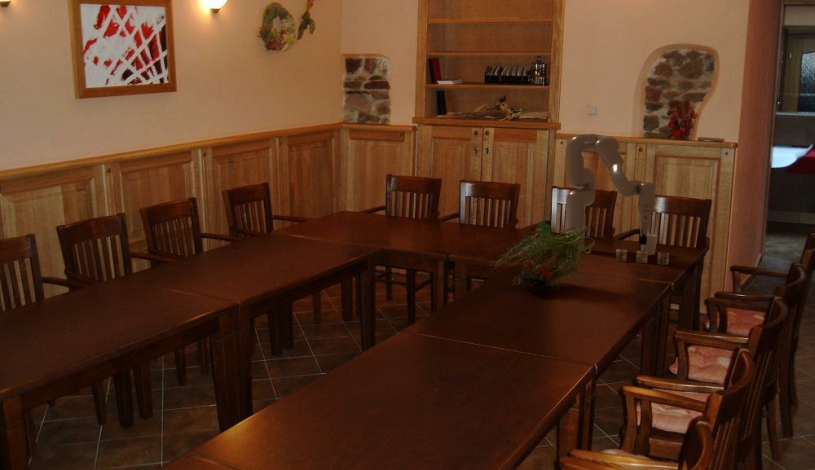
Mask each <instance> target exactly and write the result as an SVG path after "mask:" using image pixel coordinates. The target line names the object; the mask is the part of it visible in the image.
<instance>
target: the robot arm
mask: <svg viewBox="0 0 815 470" xmlns="http://www.w3.org/2000/svg"><path fill="white" fill-rule="evenodd" d="M619 149H620V144H619V141H618V140H617V139H616V138H615V137H614V136H613V137H612V136H606V135H602V134H595V133H588V134H587V133H583V134H578V135H574V136H573V137H572V138H570V139H569V140H568V142H567V143H566V146H565V153H566V154H565V155H566V165H567V166H566V168H567V170H566V171H567V181H568V184H569V185H570V186H571V187H573V188H577V189H573V190H571V191H569V192H568V194H567V195H566V199H565V202H566V214H567V215H566V229H565V231H566V230H567V229H569V228H571V227H573V228H576V229H577V231H578V234H579V233H580V231H582V230H584V229H585V228H584V227H586V218H587V215H586V210H585V207H589V206H591V205H592V204H594V203H595V200H596V183H595V175H594V173H593V171H592V170H591V168H588V167H585V160H584V156H583V152H588V151H589V152H591V151H593V152H596V153H597V155H598V156H599V157H600V159H601V160H602V161H603V163H604V164H605V166H606V168H608V170H609V175H610V179H611V182H612V184H613V186H614V187H615V189H616V190H617V192H618V193H619V194H620V195H621V196H623V197H625V198H627V197H633V196H638V199H637V201H638V202H637V211H639V231H640V237H639V238H640V239H639V245H640V246H641V245H646V244H647V233H648V232H651V227H652V212H654V211H655V198H656V197H655V196H656V184H655V183H654V182H651V181H642V180H638V179H633V180H632V179H631V180H629V179H628V178H627V177H626V175H625V173H624V170H623V165H624V163H625V160H624V158H623V157H622V155H621V154H620V153H619ZM581 228H582V229H581ZM578 229H579V230H578ZM568 231H573V233H574V234H575V231H574V229H570V230H568ZM568 231H567V232H565V234H568V233H569V234H571V235H572V233H570V232H568ZM585 234H586V231H585V232H584V234H583V235H582V236H581V238H582V237H585ZM567 236H568V235H566V236H565V238H568V237H567ZM575 236H576V234H575ZM581 240H582V239H581ZM580 245H581V243H580ZM560 246H562V245H560ZM578 246H579V245H578ZM585 247H586V246H585V245H584V246H583V248H585ZM578 251H579V250H578ZM584 251H586V252H587V250H584ZM581 253H583V251H581Z"/></svg>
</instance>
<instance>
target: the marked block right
mask: <svg viewBox="0 0 815 470" xmlns="http://www.w3.org/2000/svg"><path fill="white" fill-rule="evenodd" d="M669 260H670V253H669V252H660V251H659V252H658V251H657V260H656V261H657V265H664V266H667V265H669V262H670V261H669Z"/></svg>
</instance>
